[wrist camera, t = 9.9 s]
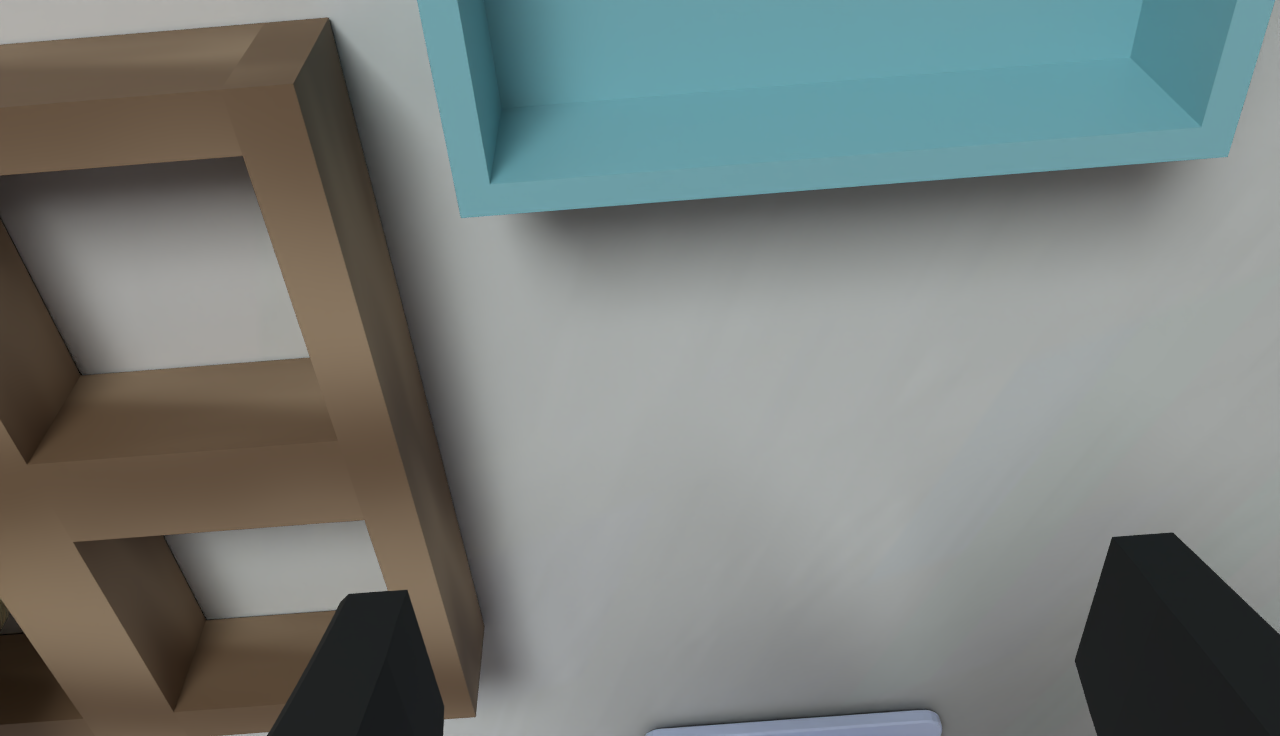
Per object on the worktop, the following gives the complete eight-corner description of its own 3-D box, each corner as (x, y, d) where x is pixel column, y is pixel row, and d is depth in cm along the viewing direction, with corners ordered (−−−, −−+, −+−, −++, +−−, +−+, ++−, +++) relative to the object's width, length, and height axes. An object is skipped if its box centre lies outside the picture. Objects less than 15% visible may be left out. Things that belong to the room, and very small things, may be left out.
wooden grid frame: (484, 626, 26) (475, 716, 24) (-125, 671, 26) (-183, 764, 24) (328, 17, 16) (293, 83, 14) (-619, 96, 17) (-782, 171, 15)
